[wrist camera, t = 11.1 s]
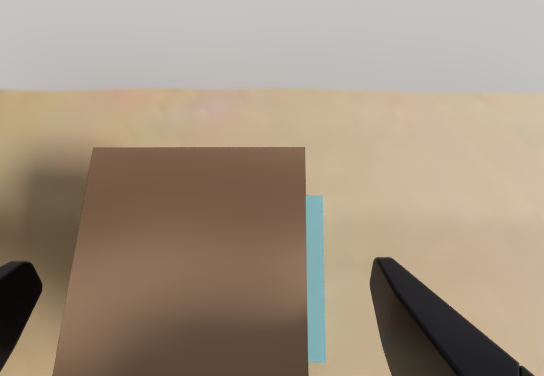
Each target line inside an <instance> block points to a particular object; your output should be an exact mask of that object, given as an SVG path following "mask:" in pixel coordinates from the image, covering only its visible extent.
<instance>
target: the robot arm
mask: <svg viewBox="0 0 544 376" xmlns="http://www.w3.org/2000/svg"><path fill="white" fill-rule="evenodd" d="M370 290H371V295H372V300H373V305H374V309H375V314H376V319H377V324H378V328H379V333H380V338H381V342H382V347H383V350H384V353H385V357H386V360H387V363H388V366H389V369H390V372H391V375H392V376H534V375H533V374H532V373H531V372H530V371H528V370H527V369H526V368H525V367H523V366H519V363H518V362H517V361H516V360H515V359H514V358H512V357H511V356H510V355H509V354H508V353H506V352H505V351H504V350H503V349H501V348H500V347H499V346H498V345H497V344H495V343H494V342H493V341H492V340H491V339H489V338H488V337H487V336H486V335H485V334H483V333H482V332H481V331H480V330H479V329H477V328H476V327H475V326H474V325H472V324H471V323H470V322H469V321H468V320H466V319H465V318H464V317H463V316H462V315H460V314H459V313H458V312H457V311H456V310H454V309H453V308H452V307H451V306H449V305H448V304H447V303H446V302H445V301H443V300H442V299H441V298H440V297H439V296H437V295H436V294H435V293H434V292H433V291H431V290H430V289H429V288H428V287H427V286H425V285H424V284H423V283H422V282H420V281H419V280H418V279H417V278H416V277H414V276H413V275H412V274H411V273H410V272H408V271H407V270H406V269H405V268H404V267H402V266H401V265H400V264H399V263H397V262H396V261H395V260H394V259H392V258H390V257H377V258H375V259H374V261H373V266H372V272H371V278H370ZM41 292H42V282H41V280H40V278H39V276H38V274H37V272H36V270H35V268H34V266H33V265H32V263H30V262H29V261H11V262H9V263H7V264H5V265H3V266H1V267H0V372H1V370H2V368H3V367H4V365H5V363H6V362H7V360H8V358H9V356H10V355H11V353H12V351H13V349H14V348H15V346H16V344H17V342H18V340H19V338H20V336H21V334H22V332H23V329H24V327H25V325H26V323H27V321H28V319H29V317H30V315H31V313H32V311H33V309H34V307H35V305H36V303H37V300H38V298H39V296H40V294H41Z"/></svg>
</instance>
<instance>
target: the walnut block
mask: <svg viewBox="0 0 544 376" xmlns="http://www.w3.org/2000/svg"><path fill="white" fill-rule="evenodd" d="M52 376H308V319H307V249H306V179H305V147H157V148H93V151H92V157H91V162H90V168H89V173H88V179H87V185H86V190H85V196H84V201H83V207H82V213H81V218H80V224H79V229H78V235H77V241H76V246H75V252H74V258H73V263H72V269H71V274H70V280H69V286H68V291H67V297H66V302H65V308H64V314H63V319H62V325H61V331H60V336H59V342H58V347H57V353H56V359H55V364H54V370H53V375H52Z"/></svg>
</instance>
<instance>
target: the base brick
mask: <svg viewBox="0 0 544 376" xmlns="http://www.w3.org/2000/svg"><path fill="white" fill-rule="evenodd" d="M306 249H307V319H308V362H317V363H326V353H325V302H324V251H323V199H322V196H306Z"/></svg>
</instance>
